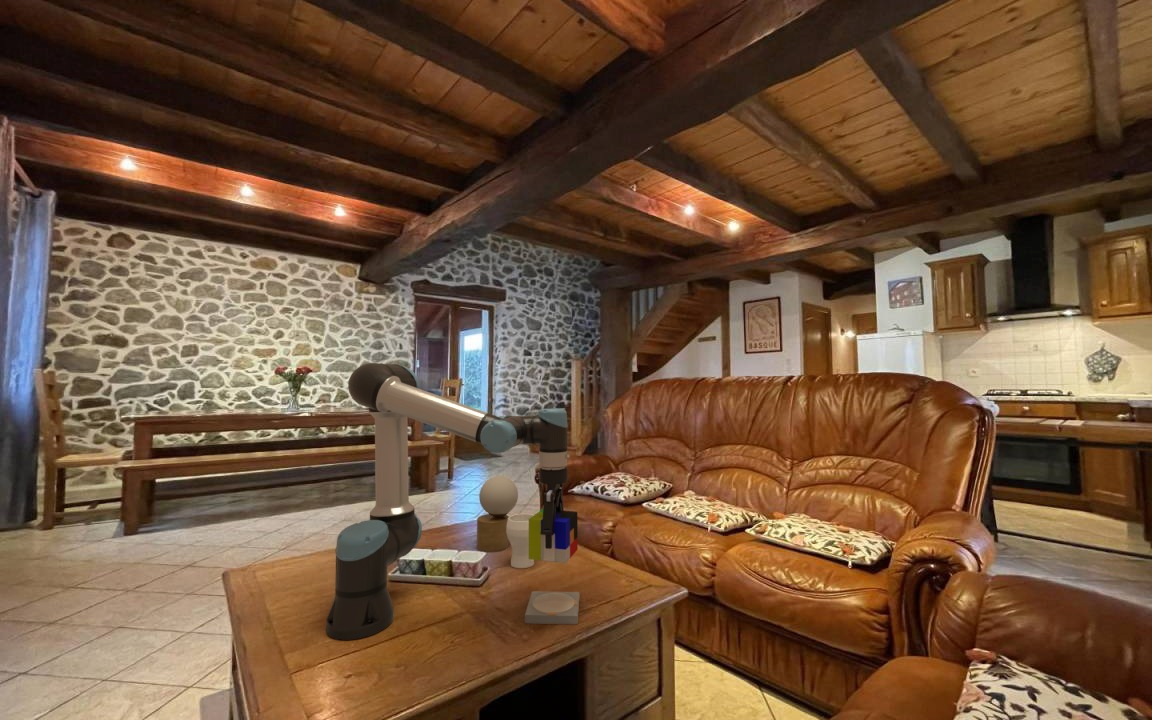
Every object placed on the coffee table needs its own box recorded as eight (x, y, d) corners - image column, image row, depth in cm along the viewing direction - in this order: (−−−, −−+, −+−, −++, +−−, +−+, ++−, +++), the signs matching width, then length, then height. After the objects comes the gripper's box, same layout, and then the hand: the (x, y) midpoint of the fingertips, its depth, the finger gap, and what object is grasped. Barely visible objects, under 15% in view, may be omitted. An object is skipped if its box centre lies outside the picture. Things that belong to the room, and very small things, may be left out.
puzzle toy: (565, 563, 113) (565, 522, 114) (528, 559, 116) (528, 519, 117) (577, 549, 123) (577, 511, 123) (542, 545, 126) (542, 508, 126)
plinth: (524, 623, 112) (525, 614, 113) (532, 598, 125) (532, 590, 126) (577, 624, 112) (577, 614, 112) (579, 599, 125) (579, 591, 125)
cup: (503, 560, 154) (504, 514, 154) (534, 556, 157) (534, 511, 158) (508, 572, 143) (509, 523, 144) (541, 568, 147) (541, 520, 148)
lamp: (504, 536, 178) (505, 471, 179) (525, 545, 167) (525, 476, 168) (469, 545, 168) (470, 476, 169) (488, 556, 157) (489, 482, 159)
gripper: (559, 476, 109) (560, 570, 108) (573, 460, 132) (574, 538, 130) (529, 475, 110) (528, 569, 109) (548, 459, 133) (548, 537, 131)
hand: (553, 552), depth 120 cm, fingers closed on puzzle toy, 11 cm apart
